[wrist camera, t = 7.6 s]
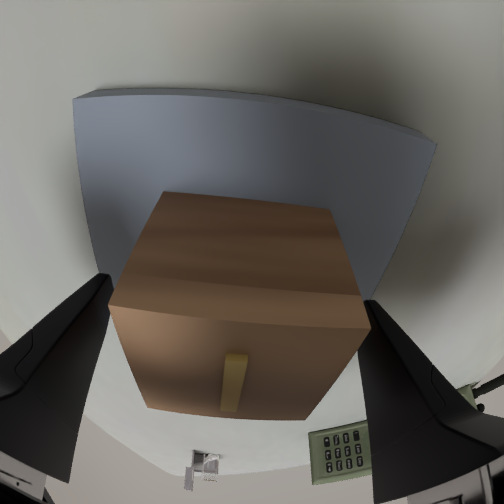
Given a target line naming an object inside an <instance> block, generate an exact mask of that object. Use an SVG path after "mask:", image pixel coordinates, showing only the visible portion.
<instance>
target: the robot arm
mask: <svg viewBox="0 0 504 504" xmlns="http://www.w3.org/2000/svg"><path fill="white" fill-rule="evenodd" d="M113 291H114V287H113V283H112V279H111V276H110V275H109V274H105V273H98V274H97V275H96V276H94V277H93V278H92V279H90V280H89V281H88V282H87V283H85V284H84V285H83V286H82V287H80V288H79V289H78V290H77V291H75V292H74V293H73V294H72V295H70V296H69V297H68V298H67V299H66V300H64V301H63V302H62V303H61V304H60V305H58V306H57V307H56V308H55V309H54V310H52V311H51V312H50V313H49V314H48V315H46V316H45V317H44V318H43V319H42V320H41V321H39V322H38V323H37V324H36V325H35V326H34V327H33V328H32V329H30V330H29V331H28V332H27V333H26V334H25V335H23V336H22V337H21V338H20V339H19V340H18V341H16V342H15V343H14V344H13V345H11V346H10V347H9V348H8V349H6V350H5V351H4V352H2V353H1V354H0V504H55V503H54V502H53V500H52V499H51V497H50V495H49V493H48V492H47V490H46V489H45V487H44V486H45V481H46V476H47V475H49V476H51V477H53V478H56V479H58V480H60V481H63V482H66V483H69V479H70V473H71V467H72V462H73V456H74V451H75V446H76V441H77V437H78V434H77V433H78V431H79V427H80V423H81V418H82V414H83V410H84V406H85V402H86V398H87V395H88V391H89V387H90V384H91V380H92V377H93V373H94V370H95V366H96V363H97V360H98V357H99V353H100V350H101V347H102V344H103V341H104V338H105V334H106V330H107V326H108V322H109V317H110V310H109V307H108V303H109V301H110V298H111V296H112V294H113ZM363 303H364V306H365V309H366V313H367V316H368V319H369V322H370V326H371V330H370V331H369V333H368V335H367V336H366V338H365V339H364V341H363V342H362V344H361V345H360V347H359V348H358V350H357V351H358V360H359V367H360V373H361V379H362V386H363V393H364V400H365V408H366V416H367V424H368V433H369V443H370V453H371V466H372V480H373V498H374V504H380V503H384V502H388V501H392V500H396V499H399V498H403V497H406V496H407V500H408V504H504V418H501V417H497V416H493V415H488V414H484V413H482V412H480V411H478V410H477V409H476V408H474V407H473V406H472V405H471V404H470V403H469V402H468V401H467V400H466V399H465V398H464V397H463V396H462V395H461V394H460V393H459V392H458V391H457V390H456V389H455V388H454V387H453V386H452V385H451V384H450V382H449V381H448V380H447V379H446V378H445V377H444V376H443V375H442V374H441V373H440V371H439V370H438V369H437V368H436V367H435V366H434V365H432V362H431V361H430V360H429V359H428V358H427V357H426V355H425V354H424V353H423V352H422V351H421V350H420V349H419V347H418V346H417V345H416V344H415V343H414V342H413V341H412V340H411V338H410V337H409V336H408V335H407V334H406V333H405V332H404V331H403V330H402V328H401V327H400V326H399V325H398V324H397V323H396V322H395V321H394V320H393V319H392V318H391V316H390V315H389V314H388V313H387V312H386V311H385V310H384V309H383V308H382V307H381V306H380V305H379V304H378V303H377V302H376V301H375V300H364V301H363Z"/></svg>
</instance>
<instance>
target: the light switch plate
mask: <svg viewBox="0 0 504 504" xmlns="http://www.w3.org/2000/svg"><path fill="white" fill-rule="evenodd" d="M73 116H74V130H75V142H76V151H77V160H78V168H79V176H80V183H81V189H82V195H83V201H84V207H85V212H86V218H87V223H88V228H89V232H90V237H91V241H92V246H93V250H94V254H95V258H96V262H97V266H98V270H99V273H105V274H109V275H110V276H111V279H112V283H113V287H114V289H115V287H116V285H117V282H118V280H119V278H120V276H121V274H122V271H123V269H124V267H125V265H126V263H127V261H128V259H129V256H130V254H131V252H132V250H133V248H134V246H135V244H136V242H137V240H138V238H139V236H140V234H141V232H142V230H143V228H144V226H145V224H146V222H147V220H148V218H149V217H150V215H151V213H152V211H153V209H154V207H155V205H156V203H157V202H158V200H159V198H160V196H161V194H162V193H163V191H168V192H180V193H192V194H203V195H214V196H224V197H234V198H243V199H253V200H261V201H270V202H278V203H286V204H294V205H301V206H309V207H316V208H323V209H330V211H331V214H332V216H333V219H334V221H335V224H336V227H337V229H338V232H339V234H340V237H341V240H342V242H343V245H344V248H345V251H346V253H347V256H348V259H349V262H350V265H351V267H352V270H353V273H354V276H355V279H356V282H357V285H358V288H359V291H360V294H361V297H362V300H363V301H364V300H370V299H371V297H372V295H373V293H374V291H375V289H376V287H377V285H378V283H379V282H380V280H381V278H382V276H383V274H384V272H385V270H386V268H387V266H388V264H389V262H390V259H391V257H392V255H393V253H394V251H395V249H396V247H397V245H398V243H399V240H400V238H401V236H402V234H403V232H404V229H405V227H406V225H407V222H408V220H409V218H410V215H411V213H412V211H413V208H414V206H415V203H416V201H417V198H418V196H419V193H420V191H421V188H422V186H423V183H424V180H425V178H426V175H427V172H428V170H429V167H430V164H431V161H432V158H433V156H434V153H435V150H436V147H437V144H436V143H435V142H433V141H432V140H430V139H429V138H428V137H426V136H425V135H423V134H422V133H420V132H419V131H416V130H413V129H410V128H407V127H404V126H401V125H398V124H395V123H391V122H388V121H385V120H381V119H378V118H374V117H370V116H367V115H363V114H359V113H355V112H351V111H347V110H343V109H338V108H334V107H329V106H325V105H320V104H315V103H310V102H304V101H299V100H293V99H287V98H280V97H274V96H266V95H259V94H251V93H242V92H231V91H220V90H205V89H184V88H131V89H111V90H97V91H92V92H89V93H87V94H84V95H82V96H79V97H77V98H74V99H73Z"/></svg>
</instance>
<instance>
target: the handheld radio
mask: <svg viewBox="0 0 504 504" xmlns="http://www.w3.org/2000/svg"><path fill="white" fill-rule="evenodd" d="M475 383H476V382H475ZM475 383H472V384H469V385H467V386H464V387H462V388H460V389H457V391H458V392H459V393H460V394H461V395H462V396H463V397H464V398H465V399H466V400H467V401H468V402H469V403H470V404H471V405H472V406H473V407H474V408H476V409H477V410H478V411H480V412H483V411H484V409H485V408H484V405H483V404H481V403H480V404H478V405H476V403H475V400H474V399H476V398H478V396H480V395H482V394H486V393H488V392H490V391H492V390H494V389H495V388H498V387H500V386H501V385H504V374H503V375H500V376H499V377H497V378H495V379H493V380H491V381H489V382H487V383H485V384H483V385H481V387H479V388H477V389H476V388H474V389H472V390H471V387H473V386H474V385H475ZM308 436H309V448H310V461H311V474H312V485H318V484H325V483H331V482H336V481H343V480H348V479H353V478H358V477H362V476H367V475H371V474H372V466H371V453H370V443H369V433H368V424H367V420H365V421H362V422H358V423H353V424H349V425H345V426H340V427H336V428H331V429H326V430H321V431H315V432H310V433H308Z"/></svg>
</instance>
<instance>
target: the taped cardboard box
mask: <svg viewBox="0 0 504 504" xmlns="http://www.w3.org/2000/svg"><path fill="white" fill-rule="evenodd" d="M108 307H109V310H110V313H111V316H112V319H113V322H114V325H115V328H116V331H117V334H118V337H119V340H120V342H121V345H122V348H123V350H124V353H125V356H126V358H127V361H128V363H129V366H130V368H131V371H132V373H133V376H134V378H135V381H136V383H137V385H138V388H139V390H140V392H141V394H142V397H143V399H144V401H145V403H146V405H147V408H153V409H158V410H164V411H171V412H177V413H185V414H192V415H201V416H210V417H221V418H234V419H251V420H306V418H307V417H308V416H309V415H310V414H311V412H312V411H313V410H314V409H315V407H316V406H317V405H318V404H319V402H320V401H321V400H322V398H323V397H324V396H325V394H326V393H327V392H328V391H329V389H330V388H331V387H332V385H333V384H334V382H335V381H336V380H337V378H338V377H339V376H340V374H341V373H342V371H343V370H344V369H345V367H346V366H347V364H348V363H349V361H350V360H351V359H352V357H353V356H354V354H355V353H356V351H357V350H358V348H359V347H360V345H361V344H362V342H363V341H364V339H365V338H366V336H367V335H368V333H369V331H370V330H371V326H370V322H369V319H368V316H367V313H366V309H365V306H364V303H363V300H362V297H361V294H360V291H359V288H358V285H357V282H356V279H355V276H354V273H353V270H352V267H351V265H350V262H349V259H348V256H347V253H346V251H345V248H344V245H343V242H342V240H341V237H340V234H339V232H338V229H337V227H336V224H335V221H334V219H333V216H332V214H331V211H330V209H323V208H316V207H309V206H301V205H294V204H286V203H278V202H270V201H261V200H253V199H243V198H234V197H224V196H214V195H203V194H192V193H180V192H168V191H163V193H162V194H161V196H160V198H159V200H158V202H157V203H156V205H155V207H154V209H153V211H152V213H151V215H150V217H149V218H148V220H147V222H146V224H145V226H144V228H143V230H142V232H141V234H140V236H139V238H138V240H137V242H136V244H135V246H134V248H133V250H132V252H131V254H130V256H129V259H128V261H127V263H126V265H125V267H124V269H123V271H122V274H121V276H120V278H119V280H118V282H117V285H116V287H115V289H114V291H113V294H112V296H111V298H110V301H109V303H108Z"/></svg>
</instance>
